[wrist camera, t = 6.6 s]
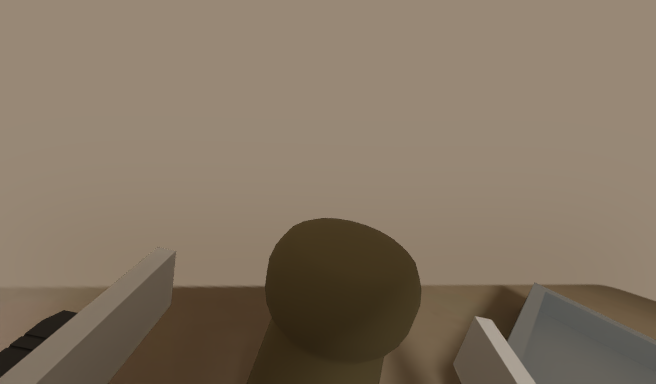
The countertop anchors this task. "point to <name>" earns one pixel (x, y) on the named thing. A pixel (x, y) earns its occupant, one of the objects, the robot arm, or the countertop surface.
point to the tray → (578, 344)
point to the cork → (335, 304)
